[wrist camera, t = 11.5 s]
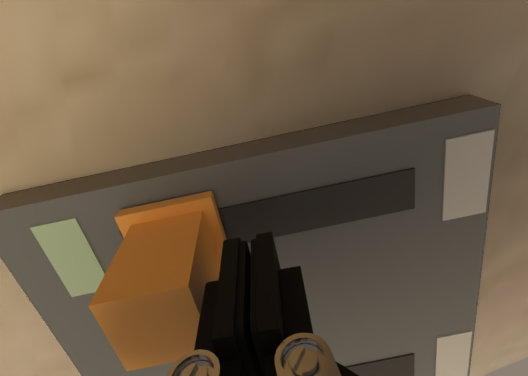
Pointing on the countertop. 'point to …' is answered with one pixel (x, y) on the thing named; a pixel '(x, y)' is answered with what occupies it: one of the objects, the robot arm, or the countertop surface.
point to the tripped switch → (159, 279)
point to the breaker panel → (297, 233)
